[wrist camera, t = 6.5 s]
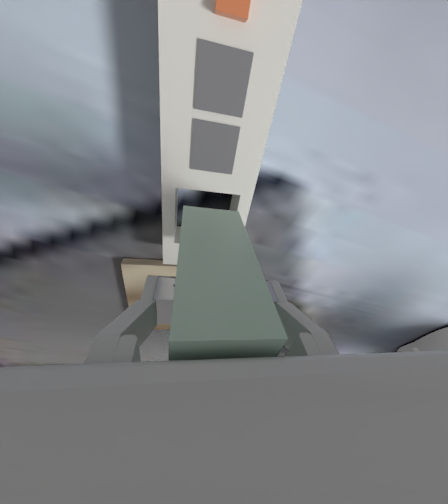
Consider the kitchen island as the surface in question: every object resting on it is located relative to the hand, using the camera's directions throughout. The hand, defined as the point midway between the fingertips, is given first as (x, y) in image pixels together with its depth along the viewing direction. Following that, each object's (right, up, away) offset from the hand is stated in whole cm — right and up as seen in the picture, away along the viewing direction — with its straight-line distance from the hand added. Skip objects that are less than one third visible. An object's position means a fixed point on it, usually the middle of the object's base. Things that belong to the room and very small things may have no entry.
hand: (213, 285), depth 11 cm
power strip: (0, +10, +5) cm, 11 cm away
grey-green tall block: (-1, +3, +4) cm, 6 cm away
